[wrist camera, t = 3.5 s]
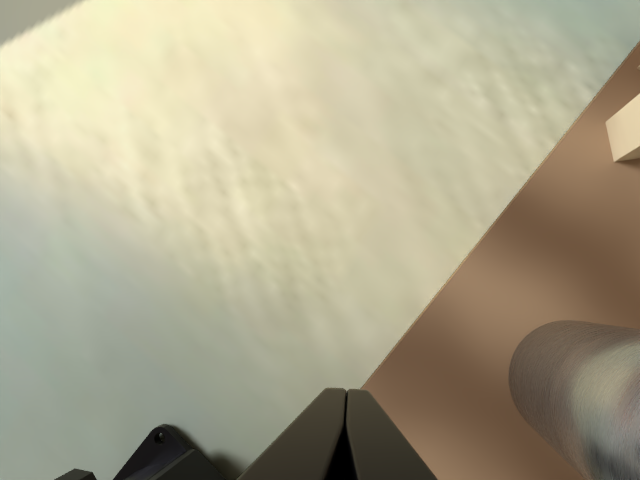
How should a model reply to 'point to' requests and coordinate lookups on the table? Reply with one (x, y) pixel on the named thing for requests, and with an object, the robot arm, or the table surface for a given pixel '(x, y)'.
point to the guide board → (521, 303)
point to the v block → (625, 131)
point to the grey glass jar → (582, 394)
